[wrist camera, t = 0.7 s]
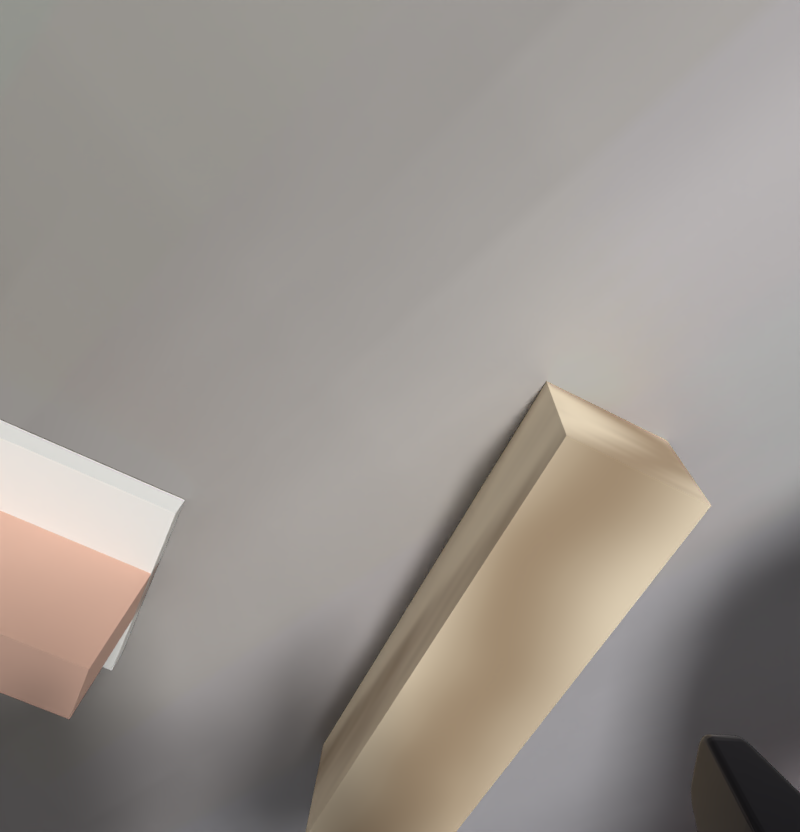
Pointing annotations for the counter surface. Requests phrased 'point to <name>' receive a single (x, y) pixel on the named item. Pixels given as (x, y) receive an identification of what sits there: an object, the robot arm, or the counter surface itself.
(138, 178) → the counter surface
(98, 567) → the fulcrum
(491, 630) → the beam
